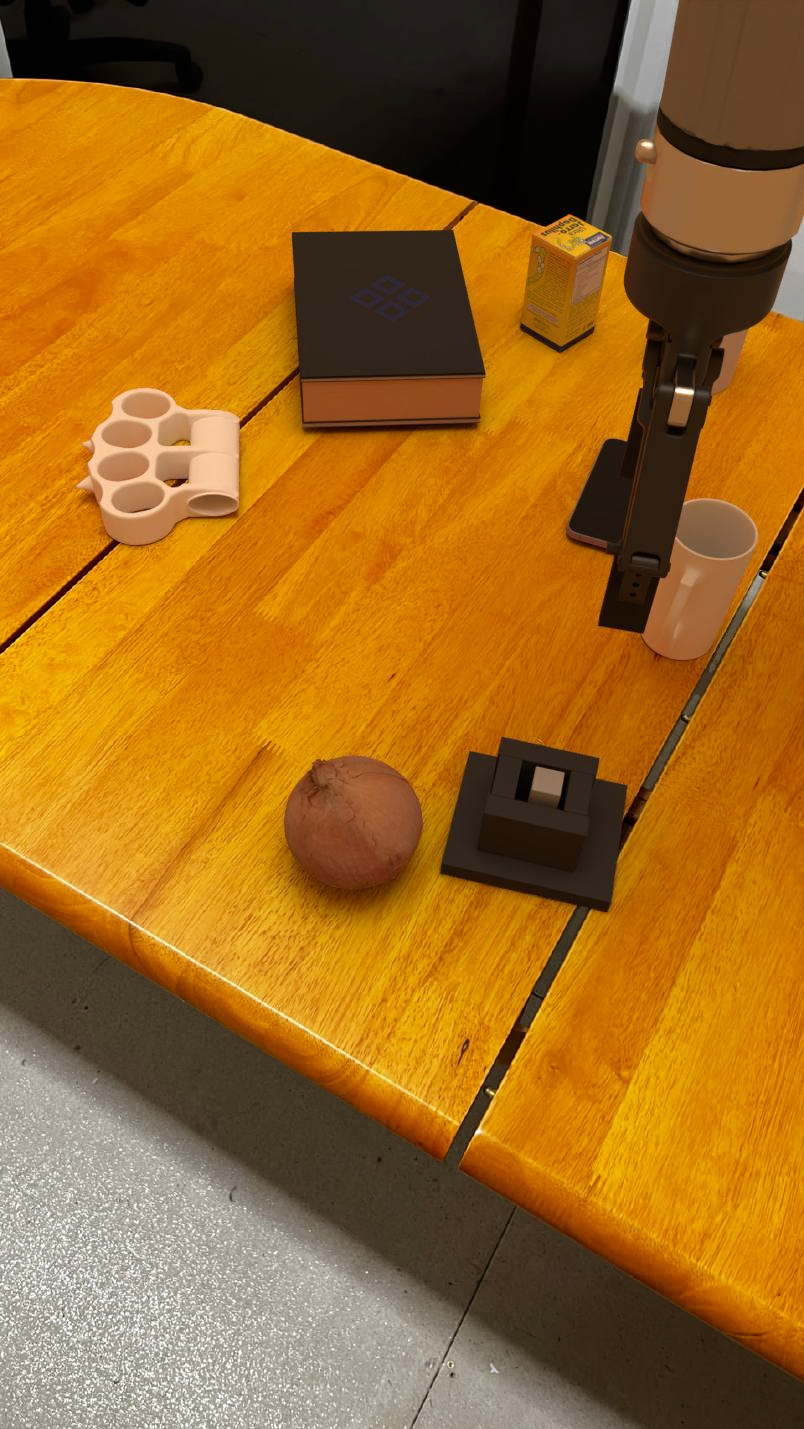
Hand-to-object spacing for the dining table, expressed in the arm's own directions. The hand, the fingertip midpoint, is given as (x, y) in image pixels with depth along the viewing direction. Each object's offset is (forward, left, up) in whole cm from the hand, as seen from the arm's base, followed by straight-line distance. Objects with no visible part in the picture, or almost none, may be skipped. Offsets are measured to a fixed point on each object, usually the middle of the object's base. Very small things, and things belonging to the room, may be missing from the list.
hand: (631, 547), depth 69 cm
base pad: (+2, +9, -21) cm, 23 cm away
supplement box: (+10, -54, -21) cm, 59 cm away
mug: (-6, -12, -21) cm, 25 cm away
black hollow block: (+2, +9, -19) cm, 21 cm away
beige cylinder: (-5, -51, -21) cm, 55 cm away
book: (+27, -44, -21) cm, 56 cm away
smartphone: (0, -29, -21) cm, 36 cm away
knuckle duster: (+42, -20, -21) cm, 51 cm away
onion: (+14, +14, -21) cm, 29 cm away
